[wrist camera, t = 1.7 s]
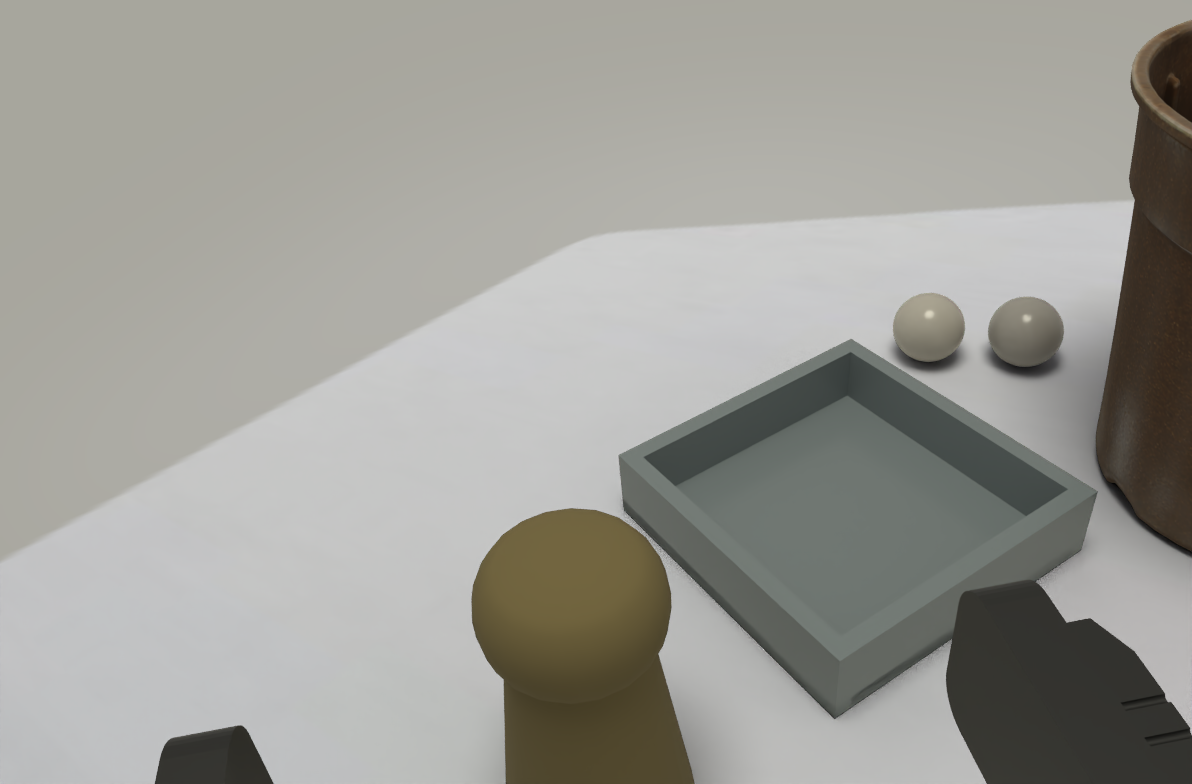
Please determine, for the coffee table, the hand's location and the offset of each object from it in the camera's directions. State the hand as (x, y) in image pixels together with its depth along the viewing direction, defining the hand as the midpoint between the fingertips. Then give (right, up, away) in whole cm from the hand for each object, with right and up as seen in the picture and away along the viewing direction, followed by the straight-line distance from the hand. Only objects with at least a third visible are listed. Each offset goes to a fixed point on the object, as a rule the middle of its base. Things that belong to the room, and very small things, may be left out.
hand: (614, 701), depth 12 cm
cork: (0, -10, +21) cm, 23 cm away
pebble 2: (+20, +5, +37) cm, 42 cm away
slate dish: (+9, -2, +29) cm, 31 cm away
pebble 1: (+15, +5, +38) cm, 41 cm away
